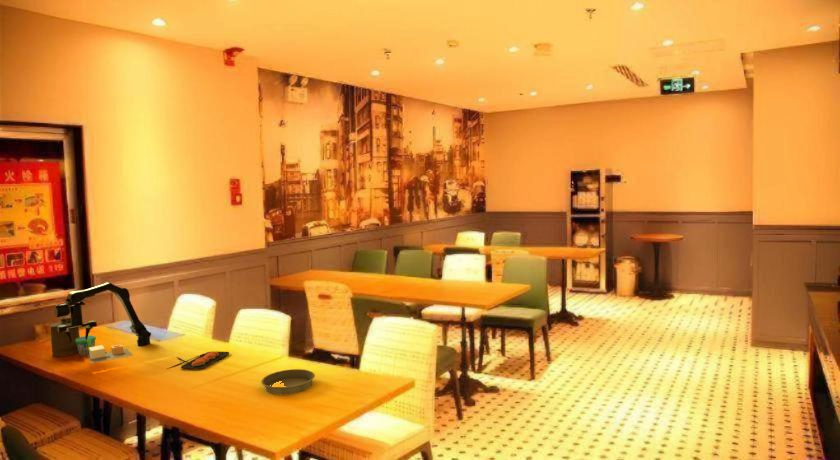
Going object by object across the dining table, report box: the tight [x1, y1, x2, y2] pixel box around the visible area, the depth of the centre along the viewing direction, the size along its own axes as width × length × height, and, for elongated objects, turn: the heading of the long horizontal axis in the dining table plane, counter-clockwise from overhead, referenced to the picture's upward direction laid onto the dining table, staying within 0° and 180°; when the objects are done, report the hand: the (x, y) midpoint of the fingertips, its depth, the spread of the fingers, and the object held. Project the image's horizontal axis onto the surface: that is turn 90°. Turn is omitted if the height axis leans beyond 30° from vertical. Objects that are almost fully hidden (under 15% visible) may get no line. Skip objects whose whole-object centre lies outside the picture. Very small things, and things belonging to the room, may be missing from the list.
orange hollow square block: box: [110, 344, 124, 355], centre depth 341 cm, size 5×5×4 cm
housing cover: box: [88, 344, 106, 359], centre depth 335 cm, size 7×10×5 cm
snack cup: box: [75, 335, 97, 357], centre depth 344 cm, size 16×10×10 cm
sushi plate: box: [166, 351, 230, 370], centre depth 321 cm, size 29×30×4 cm
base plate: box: [86, 348, 133, 364], centre depth 336 cm, size 21×18×3 cm
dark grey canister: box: [49, 316, 81, 357], centre depth 350 cm, size 15×15×22 cm
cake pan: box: [260, 368, 316, 396], centre depth 274 cm, size 25×25×4 cm
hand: (78, 341), depth 329 cm, fingers open, 7 cm apart
